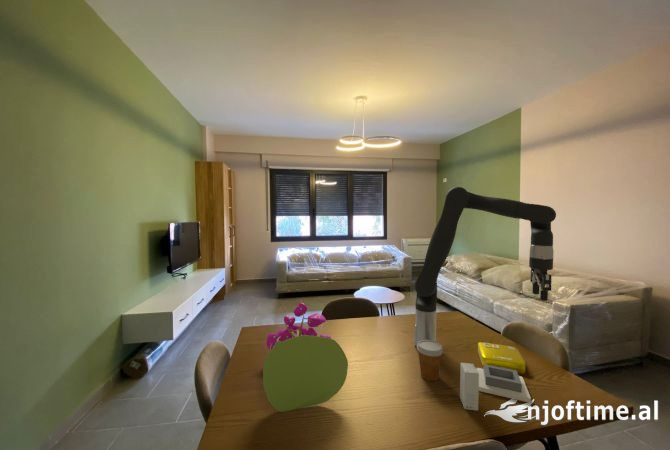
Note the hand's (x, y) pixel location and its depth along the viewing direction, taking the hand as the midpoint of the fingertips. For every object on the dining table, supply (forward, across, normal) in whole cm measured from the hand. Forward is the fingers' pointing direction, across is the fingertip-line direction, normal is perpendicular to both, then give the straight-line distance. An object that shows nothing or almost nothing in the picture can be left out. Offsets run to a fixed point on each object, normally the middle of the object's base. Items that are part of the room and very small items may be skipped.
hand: (539, 297), depth 108 cm
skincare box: (+29, +32, -29) cm, 52 cm away
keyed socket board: (+29, +18, -16) cm, 38 cm away
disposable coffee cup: (+29, +20, -41) cm, 54 cm away
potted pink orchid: (+30, +35, -87) cm, 98 cm away
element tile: (+29, -1, -13) cm, 32 cm away
